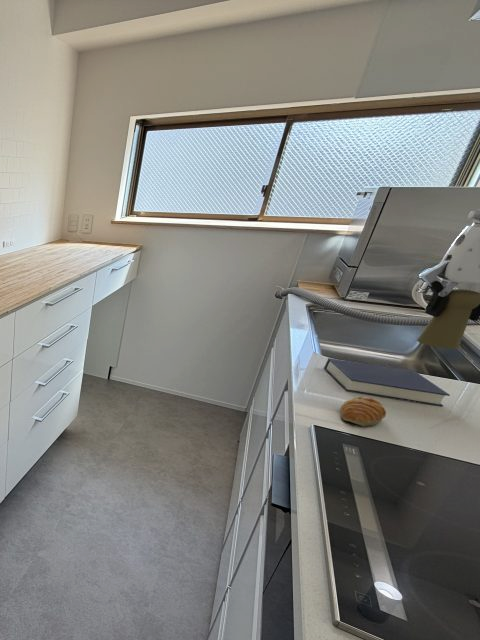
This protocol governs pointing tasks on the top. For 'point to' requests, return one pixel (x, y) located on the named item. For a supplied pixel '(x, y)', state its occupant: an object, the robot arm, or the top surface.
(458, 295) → the cork
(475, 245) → the robot arm
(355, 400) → the pastry
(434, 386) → the book
